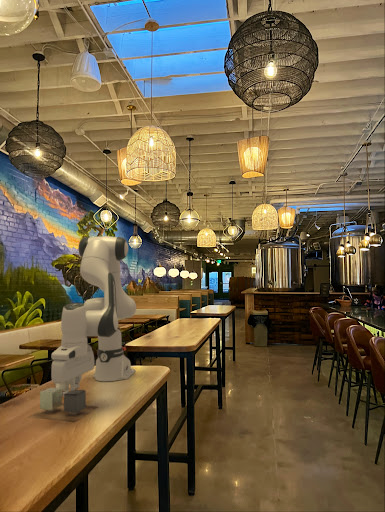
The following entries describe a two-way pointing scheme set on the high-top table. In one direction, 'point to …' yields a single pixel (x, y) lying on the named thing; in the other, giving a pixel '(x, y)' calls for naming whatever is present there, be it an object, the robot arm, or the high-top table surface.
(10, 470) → the high-top table surface
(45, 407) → the pale green block
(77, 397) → the dark grey paneled cube
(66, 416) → the walnut board
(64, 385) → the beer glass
